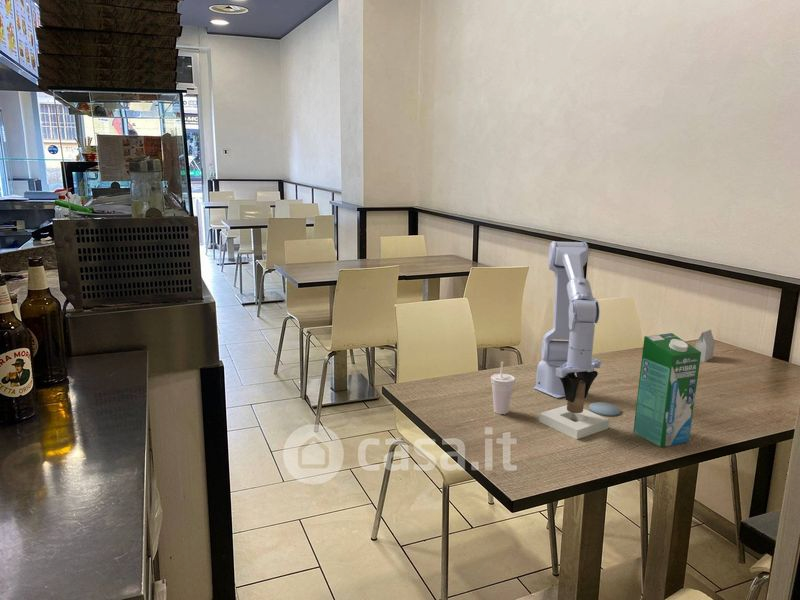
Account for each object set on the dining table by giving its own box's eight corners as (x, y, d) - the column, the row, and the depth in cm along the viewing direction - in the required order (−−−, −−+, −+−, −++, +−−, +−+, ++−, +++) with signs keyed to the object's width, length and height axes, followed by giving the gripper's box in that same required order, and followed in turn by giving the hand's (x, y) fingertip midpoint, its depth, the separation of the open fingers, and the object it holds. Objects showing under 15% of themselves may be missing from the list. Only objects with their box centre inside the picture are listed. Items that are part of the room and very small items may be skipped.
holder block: (539, 421, 155) (540, 413, 154) (570, 412, 161) (571, 403, 161) (576, 439, 145) (577, 430, 144) (608, 428, 152) (609, 419, 151)
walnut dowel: (563, 408, 153) (565, 381, 151) (573, 405, 155) (576, 378, 153) (575, 414, 149) (578, 385, 148) (586, 410, 152) (589, 382, 150)
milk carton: (661, 447, 142) (674, 346, 136) (632, 432, 150) (644, 335, 144) (689, 441, 145) (703, 342, 140) (659, 426, 153) (671, 332, 148)
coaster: (582, 408, 164) (583, 406, 164) (601, 402, 168) (602, 400, 168) (607, 418, 157) (607, 416, 157) (626, 412, 162) (626, 409, 162)
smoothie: (484, 408, 162) (487, 359, 159) (504, 405, 165) (507, 356, 161) (497, 418, 156) (500, 367, 153) (517, 414, 159) (521, 364, 156)
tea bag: (712, 358, 210) (716, 330, 208) (704, 362, 206) (708, 333, 204) (701, 355, 213) (705, 328, 211) (693, 359, 208) (697, 331, 206)
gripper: (573, 356, 141) (568, 410, 144) (612, 347, 149) (607, 398, 152) (550, 348, 147) (546, 400, 150) (589, 340, 155) (584, 389, 158)
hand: (575, 399), depth 152 cm, fingers closed on walnut dowel, 4 cm apart
